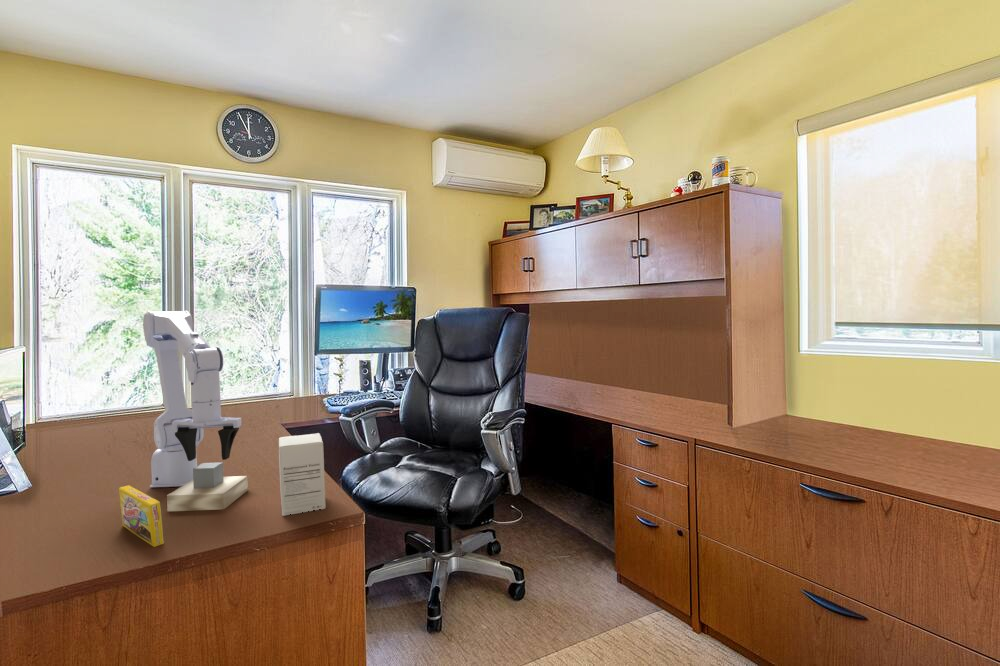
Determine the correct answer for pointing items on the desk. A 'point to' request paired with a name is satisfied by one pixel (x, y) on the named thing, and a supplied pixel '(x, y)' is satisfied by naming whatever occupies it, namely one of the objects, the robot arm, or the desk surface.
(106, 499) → the desk surface
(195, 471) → the slate cube
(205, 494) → the birch block
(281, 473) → the supplement box
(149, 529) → the candy box
